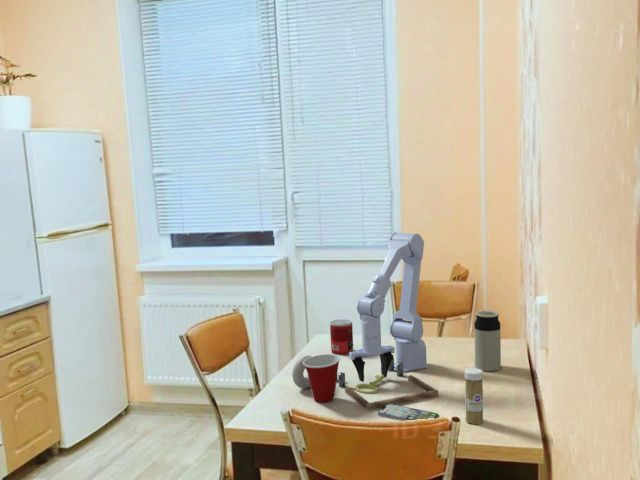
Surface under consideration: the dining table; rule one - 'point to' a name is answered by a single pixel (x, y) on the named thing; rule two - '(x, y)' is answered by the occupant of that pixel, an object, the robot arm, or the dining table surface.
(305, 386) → the donut
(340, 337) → the canned food
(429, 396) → the bay
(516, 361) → the dining table surface
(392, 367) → the spacers
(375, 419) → the dining table surface
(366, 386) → the key
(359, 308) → the robot arm
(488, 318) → the travel mug
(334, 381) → the plastic cup
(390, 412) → the smartphone
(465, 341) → the dining table surface
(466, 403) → the sprinkles bottle
